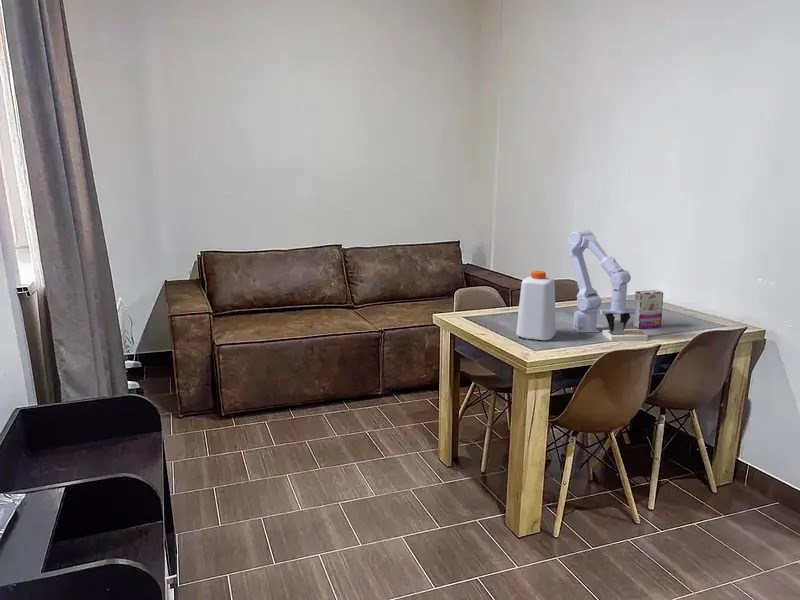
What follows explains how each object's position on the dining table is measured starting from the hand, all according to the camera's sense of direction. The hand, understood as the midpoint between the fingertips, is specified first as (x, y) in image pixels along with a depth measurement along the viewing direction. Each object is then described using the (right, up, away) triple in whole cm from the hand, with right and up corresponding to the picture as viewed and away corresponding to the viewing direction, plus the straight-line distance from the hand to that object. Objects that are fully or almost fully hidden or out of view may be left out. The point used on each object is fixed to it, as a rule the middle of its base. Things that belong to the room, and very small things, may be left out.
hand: (616, 330), depth 254 cm
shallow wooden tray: (+4, -3, +1) cm, 5 cm away
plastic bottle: (-33, -3, +4) cm, 34 cm away
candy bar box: (+19, +1, +16) cm, 25 cm away
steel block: (0, -3, +1) cm, 3 cm away
